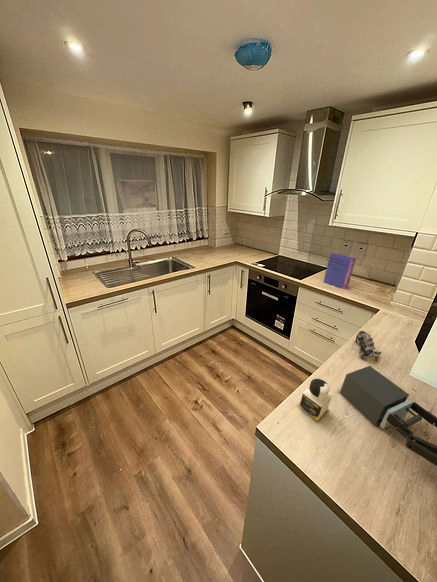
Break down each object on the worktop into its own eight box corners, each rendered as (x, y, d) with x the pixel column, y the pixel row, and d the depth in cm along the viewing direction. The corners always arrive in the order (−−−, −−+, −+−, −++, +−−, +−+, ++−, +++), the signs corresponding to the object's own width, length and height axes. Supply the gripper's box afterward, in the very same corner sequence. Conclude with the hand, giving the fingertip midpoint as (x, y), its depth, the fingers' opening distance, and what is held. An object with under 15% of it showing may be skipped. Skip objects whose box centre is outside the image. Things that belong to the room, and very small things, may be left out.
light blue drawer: (418, 428, 77) (428, 413, 74) (396, 441, 73) (405, 425, 70) (369, 388, 92) (375, 373, 89) (348, 396, 88) (354, 381, 85)
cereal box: (347, 287, 184) (356, 258, 174) (345, 289, 181) (353, 259, 171) (325, 280, 196) (332, 252, 185) (323, 282, 193) (330, 253, 182)
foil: (348, 349, 110) (360, 323, 115) (347, 358, 118) (359, 334, 123) (376, 360, 103) (388, 333, 108) (374, 369, 110) (385, 343, 115)
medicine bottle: (298, 406, 85) (305, 382, 79) (309, 396, 89) (316, 372, 84) (317, 421, 80) (325, 396, 74) (327, 409, 84) (335, 385, 79)
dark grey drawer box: (398, 413, 83) (409, 394, 79) (374, 425, 79) (384, 406, 75) (362, 383, 95) (369, 365, 91) (339, 392, 91) (346, 374, 87)
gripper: (456, 513, 56) (372, 430, 74) (504, 472, 64) (418, 407, 82) (472, 497, 52) (379, 414, 71) (520, 455, 61) (427, 391, 79)
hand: (400, 410), depth 76 cm, fingers closed on light blue drawer, 11 cm apart
